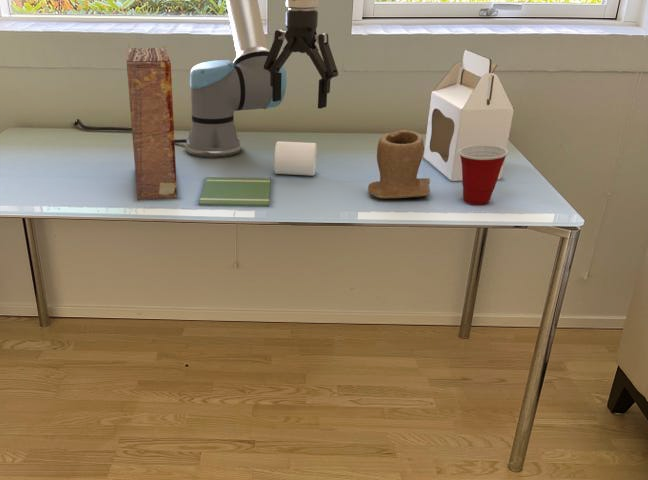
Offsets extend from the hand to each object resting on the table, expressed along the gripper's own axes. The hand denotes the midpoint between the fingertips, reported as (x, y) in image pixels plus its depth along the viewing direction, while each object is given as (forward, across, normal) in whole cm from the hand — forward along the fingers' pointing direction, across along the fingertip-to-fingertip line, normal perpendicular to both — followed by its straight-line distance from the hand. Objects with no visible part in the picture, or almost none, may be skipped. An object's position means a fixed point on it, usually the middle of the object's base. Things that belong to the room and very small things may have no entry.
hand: (298, 104), depth 179 cm
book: (+17, -22, -30) cm, 41 cm away
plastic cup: (+17, +46, +6) cm, 49 cm away
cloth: (+17, -2, -23) cm, 28 cm away
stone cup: (+17, +31, -2) cm, 35 cm away
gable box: (+17, +32, +29) cm, 47 cm away
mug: (+17, 0, 0) cm, 17 cm away
